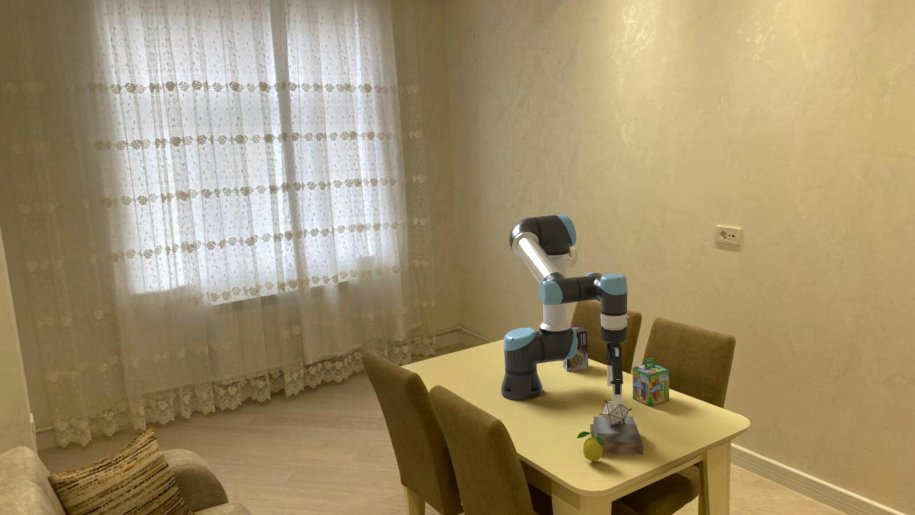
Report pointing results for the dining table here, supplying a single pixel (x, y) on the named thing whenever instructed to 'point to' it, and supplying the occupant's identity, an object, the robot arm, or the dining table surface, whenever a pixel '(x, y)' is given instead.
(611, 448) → the tower base
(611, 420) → the game die
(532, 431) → the dining table surface
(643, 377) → the chalk box
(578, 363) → the coffee box
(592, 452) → the lemon
